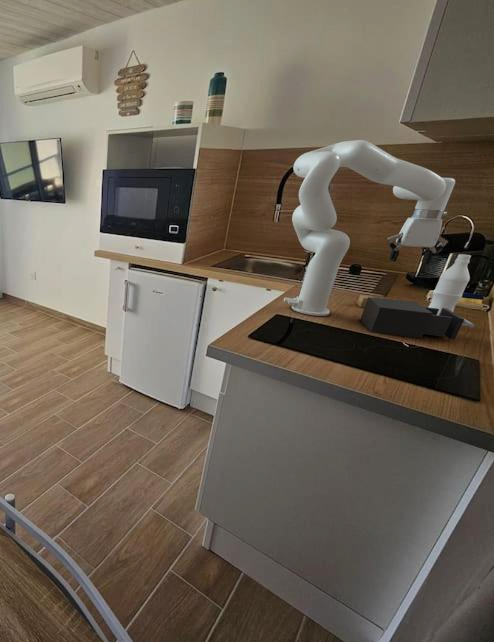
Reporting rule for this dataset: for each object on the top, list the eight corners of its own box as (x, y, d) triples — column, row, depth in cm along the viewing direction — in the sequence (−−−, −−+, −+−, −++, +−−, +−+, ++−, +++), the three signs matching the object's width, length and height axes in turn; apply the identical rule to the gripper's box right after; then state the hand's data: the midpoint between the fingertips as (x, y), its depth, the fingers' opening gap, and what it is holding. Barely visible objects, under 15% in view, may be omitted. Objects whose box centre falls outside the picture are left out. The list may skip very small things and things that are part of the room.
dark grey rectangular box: (406, 325, 134) (416, 302, 130) (421, 338, 124) (433, 313, 120) (359, 320, 139) (368, 297, 135) (371, 331, 129) (380, 307, 125)
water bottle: (436, 318, 140) (466, 253, 130) (454, 326, 133) (486, 257, 124) (416, 318, 141) (444, 252, 131) (432, 325, 134) (463, 257, 124)
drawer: (454, 329, 128) (463, 310, 125) (472, 342, 119) (483, 321, 116) (392, 322, 134) (400, 303, 132) (405, 333, 125) (414, 313, 122)
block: (360, 307, 152) (363, 297, 151) (357, 304, 155) (360, 295, 154) (372, 308, 151) (375, 299, 149) (368, 305, 154) (372, 296, 152)
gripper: (451, 214, 133) (431, 261, 140) (392, 212, 138) (375, 258, 145) (465, 216, 126) (443, 266, 133) (402, 214, 132) (384, 262, 138)
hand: (408, 261), depth 139 cm, fingers open, 9 cm apart
